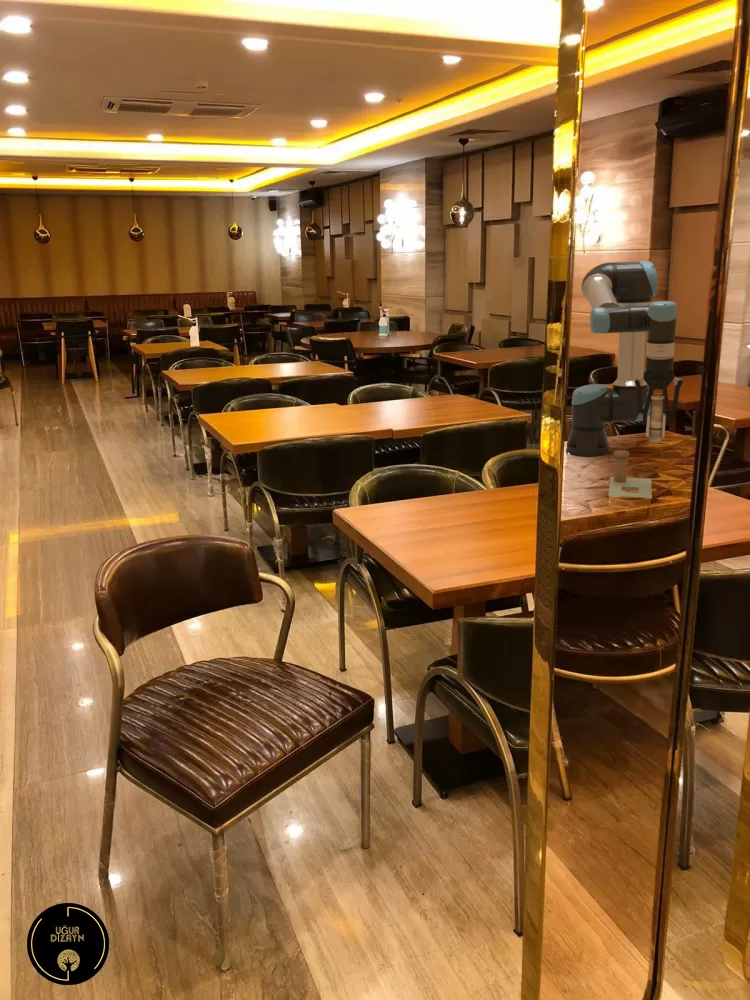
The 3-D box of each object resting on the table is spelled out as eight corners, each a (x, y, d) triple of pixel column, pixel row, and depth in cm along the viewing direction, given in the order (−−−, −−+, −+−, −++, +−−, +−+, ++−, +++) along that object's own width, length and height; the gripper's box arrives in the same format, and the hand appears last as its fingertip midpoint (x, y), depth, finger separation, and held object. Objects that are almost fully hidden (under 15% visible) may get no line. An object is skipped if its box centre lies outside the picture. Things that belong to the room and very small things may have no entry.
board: (609, 489, 253) (611, 449, 249) (650, 491, 250) (652, 450, 245) (607, 508, 238) (609, 465, 234) (651, 510, 235) (653, 467, 230)
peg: (646, 438, 245) (649, 393, 240) (662, 439, 244) (665, 393, 239) (647, 442, 241) (650, 396, 236) (663, 443, 240) (666, 396, 235)
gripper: (629, 359, 233) (625, 438, 241) (692, 359, 228) (686, 439, 236) (629, 354, 240) (625, 432, 248) (689, 354, 235) (684, 433, 243)
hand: (655, 435), depth 242 cm, fingers closed on peg, 4 cm apart
